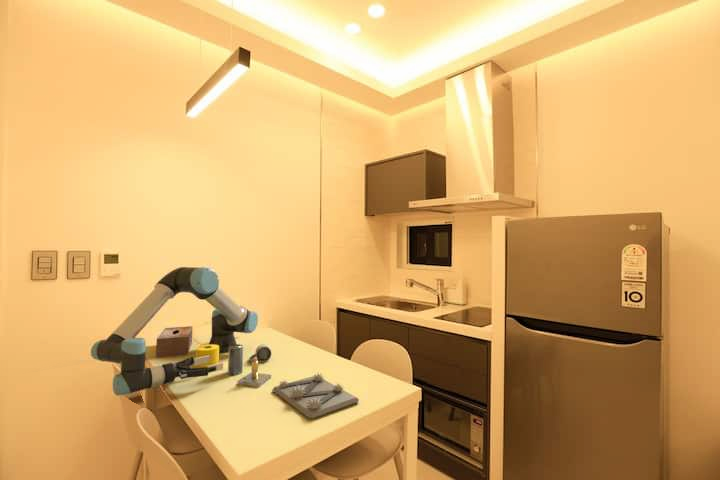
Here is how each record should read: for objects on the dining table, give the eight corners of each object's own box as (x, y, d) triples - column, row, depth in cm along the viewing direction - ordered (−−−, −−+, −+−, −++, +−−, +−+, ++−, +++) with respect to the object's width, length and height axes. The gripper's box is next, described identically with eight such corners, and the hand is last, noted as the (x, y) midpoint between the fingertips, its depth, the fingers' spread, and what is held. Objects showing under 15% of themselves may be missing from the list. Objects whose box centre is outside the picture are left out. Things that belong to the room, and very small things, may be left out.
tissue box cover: (164, 345, 198) (165, 328, 198) (191, 342, 203) (192, 326, 203) (156, 358, 174) (156, 338, 174) (187, 355, 179) (187, 336, 180)
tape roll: (198, 372, 154) (199, 351, 154) (193, 366, 162) (193, 346, 162) (221, 367, 160) (221, 347, 161) (215, 362, 168) (215, 343, 168)
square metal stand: (250, 376, 150) (250, 353, 151) (270, 378, 148) (271, 355, 148) (237, 384, 140) (237, 360, 141) (259, 387, 138) (259, 362, 138)
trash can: (234, 369, 159) (235, 343, 159) (245, 370, 157) (246, 344, 158) (224, 374, 151) (225, 348, 152) (235, 376, 150) (236, 349, 150)
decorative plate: (360, 404, 125) (360, 385, 125) (310, 423, 111) (310, 401, 111) (317, 379, 148) (317, 363, 148) (271, 392, 134) (271, 374, 135)
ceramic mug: (269, 356, 178) (269, 342, 178) (271, 361, 170) (271, 346, 170) (248, 359, 174) (248, 344, 174) (249, 364, 166) (249, 348, 166)
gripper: (151, 376, 141) (203, 363, 156) (172, 394, 124) (228, 378, 139) (152, 357, 141) (204, 347, 156) (173, 373, 124) (228, 360, 139)
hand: (215, 362), depth 148 cm, fingers open, 13 cm apart
